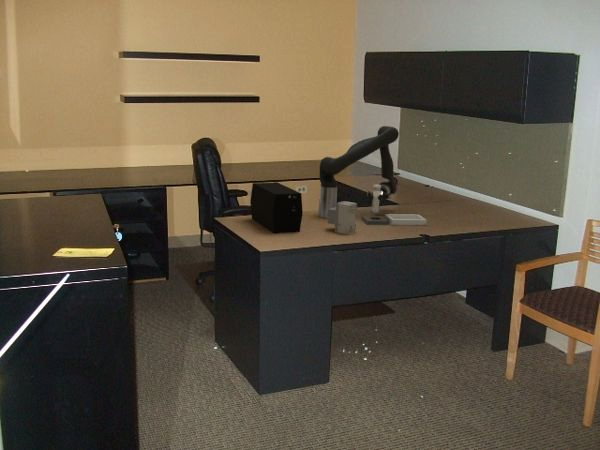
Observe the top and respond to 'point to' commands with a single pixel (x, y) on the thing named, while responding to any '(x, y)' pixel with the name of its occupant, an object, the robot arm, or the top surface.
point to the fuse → (376, 198)
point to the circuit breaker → (343, 217)
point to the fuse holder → (375, 220)
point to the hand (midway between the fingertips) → (375, 197)
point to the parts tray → (405, 219)
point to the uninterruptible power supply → (276, 207)
